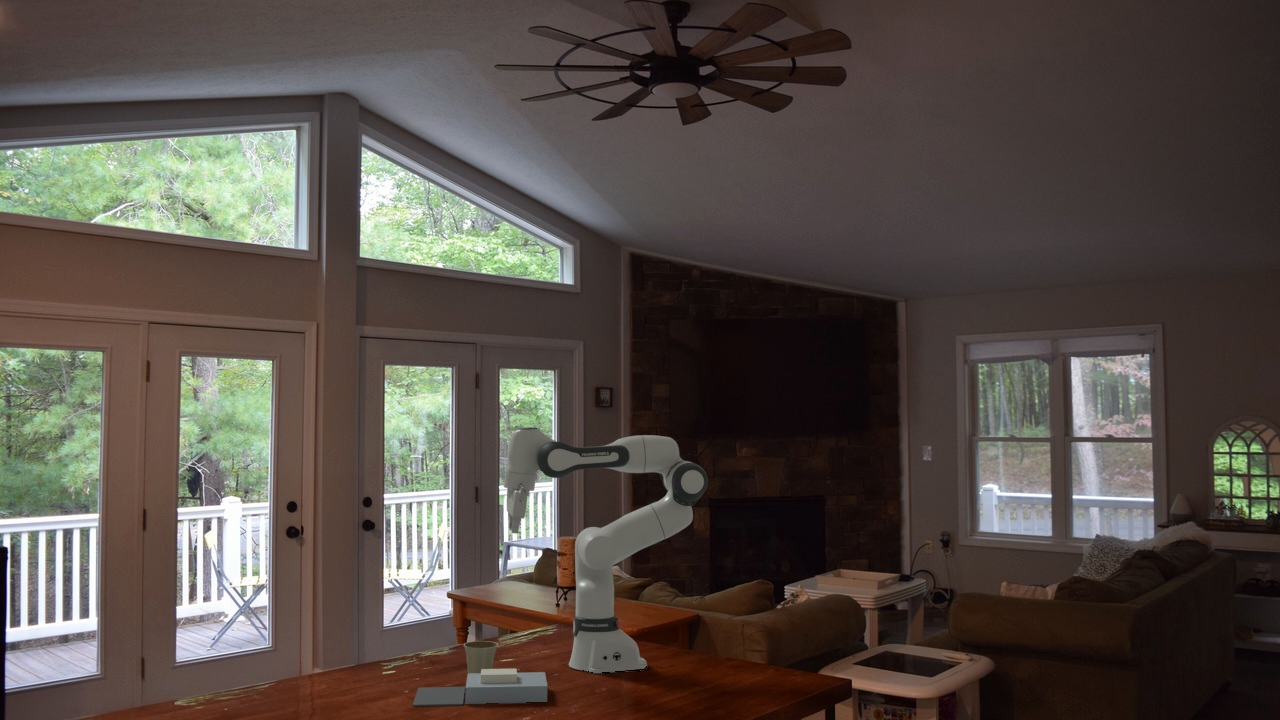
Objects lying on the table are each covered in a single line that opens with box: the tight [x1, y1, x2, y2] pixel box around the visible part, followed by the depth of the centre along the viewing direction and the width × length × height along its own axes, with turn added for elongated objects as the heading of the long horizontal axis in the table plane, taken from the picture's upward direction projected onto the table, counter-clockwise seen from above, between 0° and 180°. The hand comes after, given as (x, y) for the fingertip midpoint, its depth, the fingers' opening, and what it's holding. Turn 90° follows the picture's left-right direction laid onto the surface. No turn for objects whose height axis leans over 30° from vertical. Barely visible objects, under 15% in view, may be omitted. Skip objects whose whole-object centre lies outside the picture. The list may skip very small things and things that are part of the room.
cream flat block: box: [480, 668, 518, 683], centre depth 245 cm, size 9×6×2 cm, turn 98°
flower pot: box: [463, 640, 499, 674], centre depth 264 cm, size 9×9×9 cm
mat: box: [412, 686, 466, 707], centre depth 243 cm, size 12×16×1 cm
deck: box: [464, 671, 548, 705], centre depth 245 cm, size 20×14×4 cm
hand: (513, 531), depth 277 cm, fingers open, 8 cm apart
